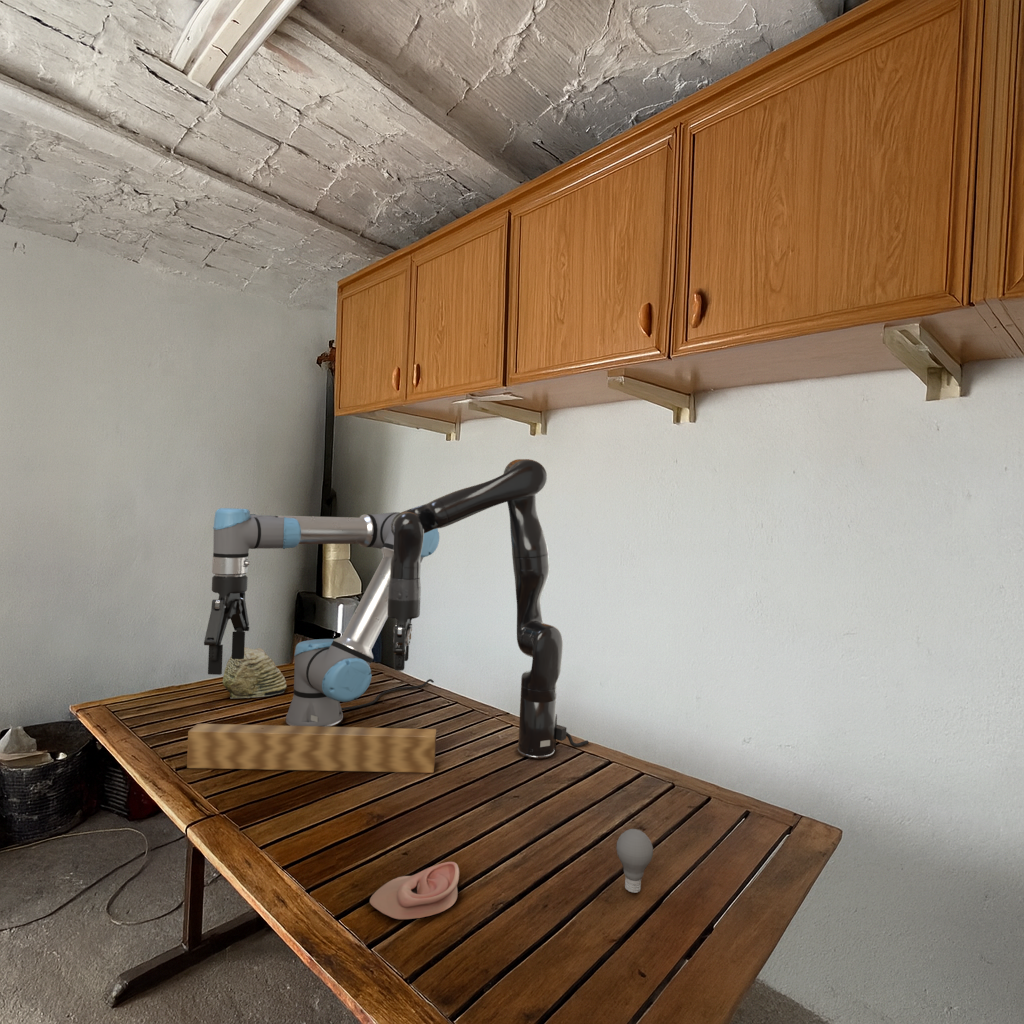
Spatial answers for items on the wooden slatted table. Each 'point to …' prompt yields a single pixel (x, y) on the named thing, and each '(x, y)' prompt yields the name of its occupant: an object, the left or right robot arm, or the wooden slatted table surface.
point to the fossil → (253, 675)
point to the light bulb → (634, 857)
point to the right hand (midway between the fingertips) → (401, 665)
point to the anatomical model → (419, 893)
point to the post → (311, 748)
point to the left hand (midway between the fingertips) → (226, 666)
